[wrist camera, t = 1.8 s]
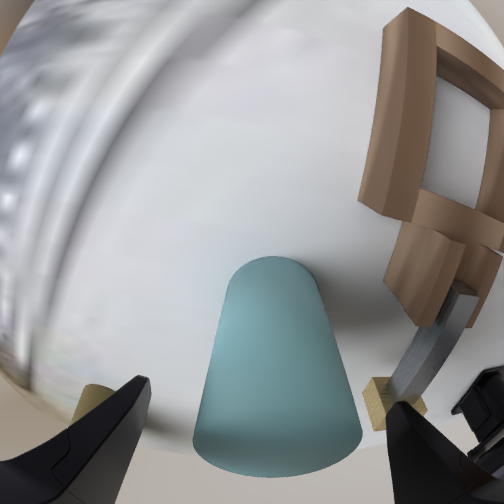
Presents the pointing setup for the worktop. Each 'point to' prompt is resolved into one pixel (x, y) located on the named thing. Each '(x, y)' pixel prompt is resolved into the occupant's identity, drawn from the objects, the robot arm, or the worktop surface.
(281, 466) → the peg
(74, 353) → the worktop surface
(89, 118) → the worktop surface
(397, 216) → the dock
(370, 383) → the lock bolt
